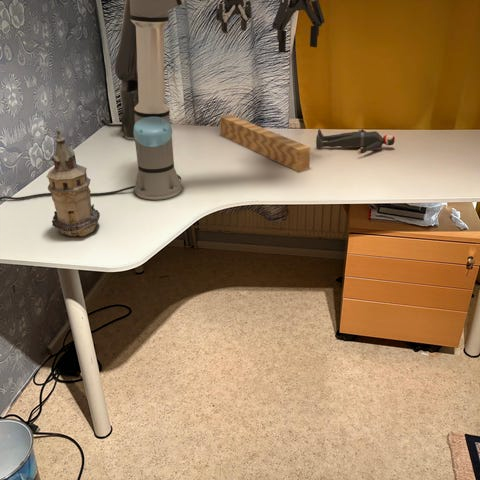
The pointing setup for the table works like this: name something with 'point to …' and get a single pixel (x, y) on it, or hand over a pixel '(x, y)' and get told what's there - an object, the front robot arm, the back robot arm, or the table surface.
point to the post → (266, 142)
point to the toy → (355, 140)
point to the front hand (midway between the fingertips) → (297, 49)
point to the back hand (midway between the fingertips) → (234, 31)
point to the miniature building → (70, 193)
